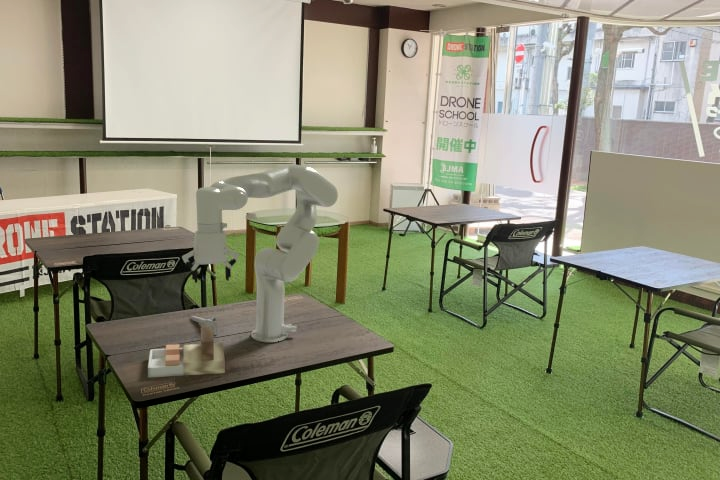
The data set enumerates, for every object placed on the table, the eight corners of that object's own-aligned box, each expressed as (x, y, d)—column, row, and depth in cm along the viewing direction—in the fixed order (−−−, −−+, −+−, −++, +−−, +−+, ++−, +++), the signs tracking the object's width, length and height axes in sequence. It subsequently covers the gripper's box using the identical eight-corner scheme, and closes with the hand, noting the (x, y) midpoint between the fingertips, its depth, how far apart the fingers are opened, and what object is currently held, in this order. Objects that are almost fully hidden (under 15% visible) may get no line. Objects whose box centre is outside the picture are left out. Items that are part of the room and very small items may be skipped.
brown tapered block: (212, 344, 200) (212, 327, 199) (213, 360, 189) (213, 341, 187) (200, 345, 199) (200, 327, 198) (201, 360, 188) (201, 341, 186)
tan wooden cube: (179, 354, 190) (165, 355, 189) (179, 359, 186) (165, 360, 185) (179, 366, 190) (165, 367, 189) (179, 372, 187) (165, 373, 186)
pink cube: (179, 344, 197) (166, 344, 196) (179, 349, 194) (165, 349, 193) (179, 356, 198) (166, 356, 197) (179, 361, 194) (165, 361, 193)
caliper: (217, 336, 219) (217, 319, 217) (214, 336, 218) (214, 319, 217) (192, 318, 234) (192, 302, 233) (190, 318, 233) (190, 302, 232)
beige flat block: (222, 354, 203) (222, 342, 202) (224, 372, 190) (224, 360, 189) (183, 356, 199) (183, 344, 199) (183, 375, 186) (183, 362, 185)
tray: (183, 356, 199) (183, 347, 199) (183, 375, 186) (183, 366, 186) (150, 358, 197) (150, 349, 196) (148, 377, 184) (147, 368, 183)
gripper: (236, 223, 199) (237, 275, 204) (180, 226, 194) (182, 278, 198) (239, 229, 192) (240, 282, 197) (181, 231, 187) (183, 286, 191)
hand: (211, 280), depth 197 cm, fingers open, 9 cm apart
